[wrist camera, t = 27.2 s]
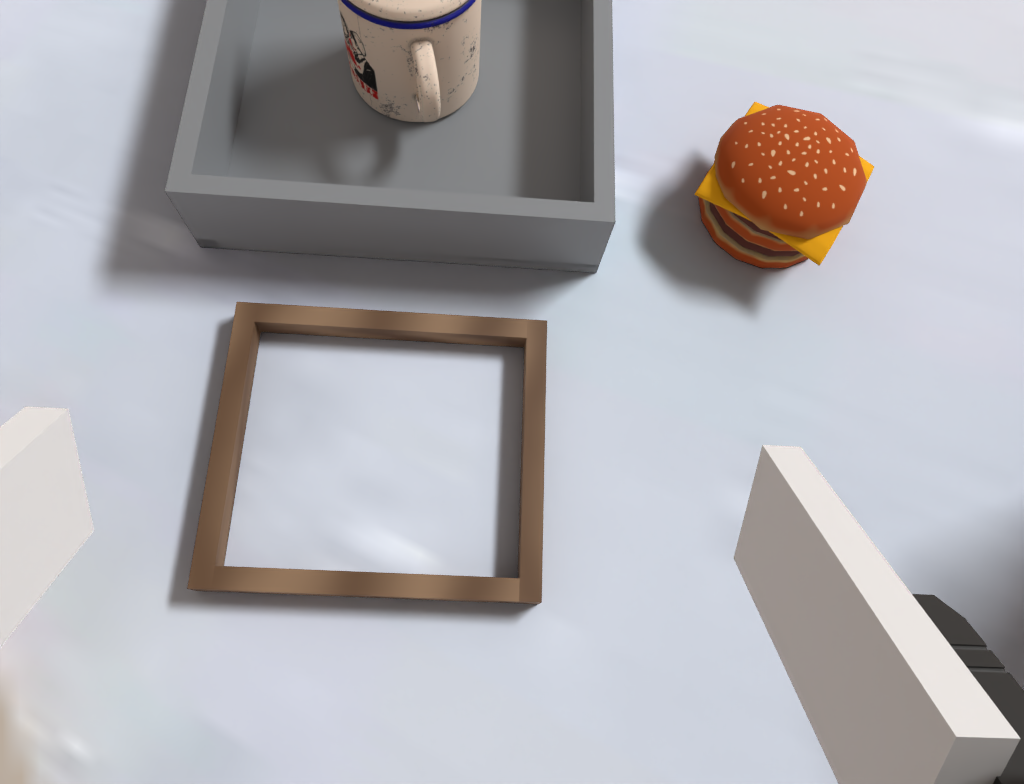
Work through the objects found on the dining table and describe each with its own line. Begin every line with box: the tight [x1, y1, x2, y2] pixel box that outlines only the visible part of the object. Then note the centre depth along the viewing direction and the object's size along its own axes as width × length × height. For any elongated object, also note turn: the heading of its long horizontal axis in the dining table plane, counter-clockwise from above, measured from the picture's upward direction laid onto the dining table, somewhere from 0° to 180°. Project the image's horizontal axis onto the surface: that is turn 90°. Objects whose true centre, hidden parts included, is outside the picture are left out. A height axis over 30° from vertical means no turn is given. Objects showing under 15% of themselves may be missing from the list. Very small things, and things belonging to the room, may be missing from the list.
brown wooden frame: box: [187, 302, 547, 604], centre depth 42 cm, size 18×16×2 cm
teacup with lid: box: [337, 0, 481, 122], centre depth 44 cm, size 12×9×12 cm
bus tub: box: [165, 0, 615, 273], centre depth 48 cm, size 25×25×6 cm
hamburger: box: [694, 102, 874, 268], centre depth 47 cm, size 9×10×7 cm
